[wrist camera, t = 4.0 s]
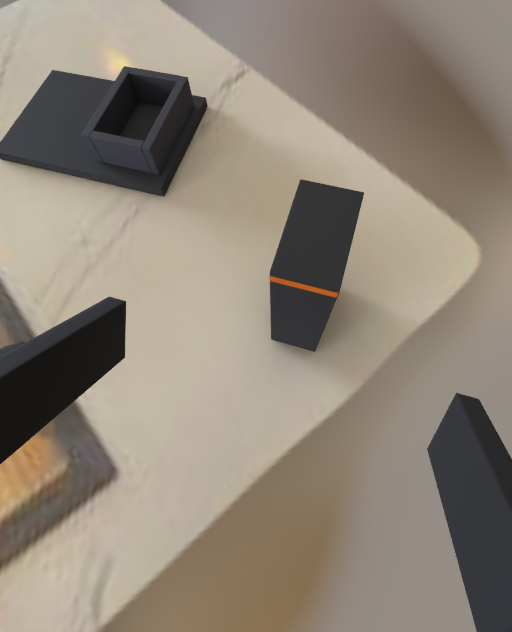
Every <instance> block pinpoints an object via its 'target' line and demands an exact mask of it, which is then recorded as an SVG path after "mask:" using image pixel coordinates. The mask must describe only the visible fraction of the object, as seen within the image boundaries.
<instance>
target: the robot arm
mask: <svg viewBox="0 0 512 632" xmlns="http://www.w3.org/2000/svg"><path fill="white" fill-rule="evenodd" d="M125 325H126V301H123V300H119V299H116V298H112V297H108V298H106V299H104V300H102V301H101V302H99V303H97V304H95V305H93V306H92V307H90V308H88V309H86V310H84V311H82V312H81V313H79V314H77V315H75V316H73V317H72V318H70V319H68V320H66V321H64V322H62V323H61V324H59V325H57V326H55V327H53V328H52V329H50V330H48V331H46V332H44V333H42V334H41V335H39V336H37V337H35V338H33V339H31V340H30V341H28V342H26V343H25V342H19V343H16V344H12V345H9V346H5V347H3V348H1V349H0V464H1V463H2V462H4V461H5V460H6V459H7V458H8V457H9V456H11V455H12V454H13V453H14V452H15V451H16V450H18V449H19V448H20V447H21V446H22V445H23V444H24V443H26V442H27V441H28V440H29V439H30V438H31V437H33V436H34V435H35V434H36V433H37V432H38V431H40V430H41V429H42V428H43V427H44V426H45V425H47V424H48V423H49V422H50V421H51V420H52V419H54V418H55V417H56V416H57V415H58V414H59V413H61V412H62V411H63V410H64V409H65V408H66V407H68V406H69V405H70V404H71V403H72V402H73V401H75V400H76V399H77V398H78V397H79V396H80V395H82V394H83V393H84V392H85V391H86V390H87V389H89V388H90V387H91V386H92V385H93V384H94V383H96V382H97V381H98V380H99V379H100V378H101V377H103V376H104V375H105V374H106V373H107V372H108V371H110V370H111V369H112V368H113V367H114V366H115V365H117V364H118V363H119V362H120V361H121V360H122V359H124V358H125ZM427 450H428V453H429V457H430V461H431V465H432V468H433V472H434V475H435V479H436V483H437V487H438V490H439V494H440V498H441V501H442V505H443V509H444V512H445V516H446V520H447V523H448V527H449V531H450V534H451V538H452V542H453V545H454V549H455V553H456V556H457V560H458V564H459V568H460V571H461V575H462V579H463V582H464V586H465V590H466V593H467V597H468V601H469V604H470V608H471V611H472V615H473V619H474V623H475V626H476V630H477V632H512V459H511V457H510V455H509V454H508V452H507V450H506V448H505V446H504V444H503V443H502V441H501V439H500V437H499V435H498V433H497V432H496V430H495V428H494V426H493V424H492V422H491V421H490V419H489V417H488V415H487V414H486V412H485V410H484V408H483V406H482V404H481V402H480V401H479V399H476V398H473V397H469V396H466V395H462V394H458V393H456V395H455V397H454V399H453V400H452V402H451V404H450V406H449V409H448V410H447V412H446V414H445V416H444V418H443V420H442V422H441V423H440V425H439V427H438V429H437V431H436V433H435V435H434V437H433V439H432V441H431V443H430V445H429V447H428V448H427Z"/></svg>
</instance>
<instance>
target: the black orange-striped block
mask: <svg viewBox="0 0 512 632" xmlns="http://www.w3.org/2000/svg"><path fill="white" fill-rule="evenodd" d="M363 195H364V193H363V192H359V191H354V190H349V189H344V188H339V187H335V186H330V185H325V184H320V183H315V182H311V181H306V180H300V182H299V185H298V188H297V191H296V194H295V197H294V200H293V203H292V206H291V209H290V212H289V215H288V219H287V222H286V225H285V228H284V231H283V234H282V237H281V240H280V243H279V246H278V249H277V252H276V255H275V258H274V261H273V264H272V267H271V270H270V275H269V276H270V305H271V339H273V340H276V341H280V342H283V343H287V344H290V345H294V346H298V347H301V348H305V349H308V350H312V351H315V350H316V348H317V345H318V343H319V340H320V338H321V335H322V333H323V330H324V328H325V325H326V323H327V321H328V318H329V316H330V313H331V311H332V308H333V306H334V303H335V301H336V298H337V297H338V295H339V292H340V288H341V284H342V280H343V275H344V271H345V267H346V263H347V259H348V255H349V251H350V247H351V243H352V239H353V235H354V231H355V227H356V223H357V219H358V215H359V211H360V207H361V203H362V199H363Z"/></svg>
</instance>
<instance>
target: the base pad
mask: <svg viewBox="0 0 512 632" xmlns="http://www.w3.org/2000/svg"><path fill="white" fill-rule="evenodd" d="M206 108H207V102H206V98H205V97H199V96H194V95H192V94H191V90H190V86H189V81H188V77H183V76H178V75H172V74H166V73H160V72H155V71H149V70H143V69H137V68H131V67H124V68H123V69H122V71H121V72H120V74H119V76H118V77H117V79H116V80H115V81H110V80H105V79H99V78H94V77H88V76H83V75H77V74H72V73H66V72H61V71H55V70H52V72H51V73H50V74H49V76H48V77H47V78H46V80H45V81H44V83H43V84H42V85H41V87H40V88H39V90H38V91H37V92H36V94H35V95H34V96H33V98H32V99H31V101H30V102H29V103H28V105H27V106H26V107H25V109H24V110H23V112H22V113H21V114H20V116H19V117H18V119H17V120H16V121H15V123H14V124H13V125H12V127H11V128H10V130H9V131H8V132H7V134H6V135H5V137H4V138H3V139H2V141H1V142H0V159H3V160H8V161H12V162H17V163H21V164H25V165H30V166H34V167H39V168H43V169H47V170H52V171H56V172H60V173H65V174H69V175H74V176H78V177H82V178H87V179H91V180H95V181H100V182H104V183H109V184H113V185H117V186H122V187H126V188H130V189H135V190H139V191H144V192H148V193H152V194H157V195H161V196H164V195H165V193H166V191H167V189H168V187H169V185H170V183H171V181H172V178H173V176H174V174H175V172H176V170H177V168H178V166H179V164H180V162H181V160H182V158H183V156H184V154H185V152H186V150H187V147H188V145H189V143H190V141H191V139H192V137H193V135H194V133H195V131H196V129H197V127H198V125H199V123H200V121H201V119H202V116H203V114H204V112H205V110H206Z"/></svg>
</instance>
